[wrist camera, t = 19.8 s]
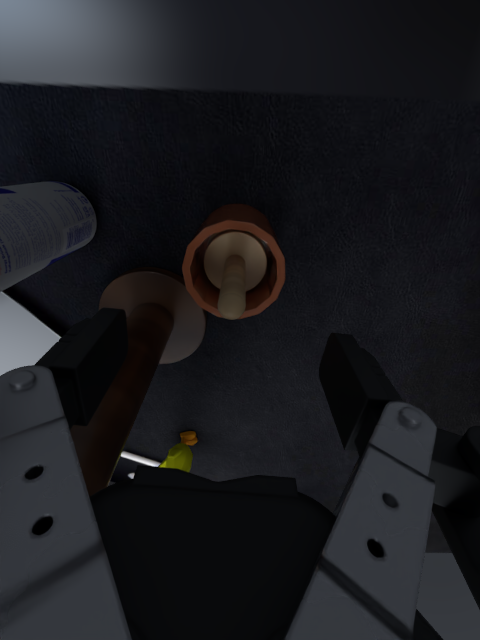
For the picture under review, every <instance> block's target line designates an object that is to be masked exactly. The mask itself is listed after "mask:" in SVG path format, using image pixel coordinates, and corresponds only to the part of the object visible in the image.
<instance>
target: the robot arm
mask: <svg viewBox="0 0 480 640" xmlns="http://www.w3.org/2000/svg"><path fill="white" fill-rule="evenodd" d="M127 353H128V332H127V320H126V312H125V310H123V309H115V308H106V307H103V308H101V309H100V310H99V311H98V312H97V314H96V315H95V316H94V317H93V318H92V319H85V320H83V321H81V322H79V323H77V324H75V325H73V326H72V327H71V328H70V329H69V330H68V331H67V332H66V335H63V337H62V338H61V339H60V340H59V342H57V343H56V344H55V345H54V346H53V347H52V348H51V349H50V350H49V351H48V352H47V353H46V354H45V355H44V356H43V357H42V358H41V359H40V360H39V361H38V362H37V363H36V364H35V365H34V366H24V367H20V368H17V369H14V370H11V371H9V372H7V373H5V374H3V375H1V376H0V640H443V639H442V638H441V636H440V635H439V634H438V633H437V632H436V631H435V630H434V628H433V627H432V626H431V625H430V624H429V623H428V621H427V620H426V619H425V618H424V617H423V616H422V615H421V613H420V612H419V611H418V610H417V609H416V605H417V599H418V593H419V587H420V581H421V574H422V567H423V561H424V555H425V549H426V543H427V536H428V530H429V524H430V517H431V511H432V512H433V514H434V516H435V518H436V520H437V522H438V524H439V526H440V528H441V530H442V532H443V535H444V537H445V539H446V541H447V543H448V545H449V547H450V549H451V551H452V553H453V555H454V557H455V559H456V562H457V564H458V566H459V568H460V570H461V572H462V574H463V576H464V578H465V580H466V582H467V584H468V587H469V589H470V591H471V593H472V595H473V597H474V599H475V601H476V603H477V605H478V607H479V609H480V426H474V427H470V428H469V429H468V430H467V432H466V433H465V434H464V436H460V435H457V434H454V433H451V432H448V431H445V430H442V429H439V428H436V425H435V423H434V422H433V420H432V419H431V418H430V417H429V416H428V415H427V414H426V413H425V412H424V411H422V410H421V409H419V408H418V407H416V406H414V405H412V404H409V403H407V402H403V400H402V399H401V397H400V396H399V394H398V393H397V391H396V390H395V388H394V387H393V385H392V384H391V382H390V381H389V379H388V377H387V376H385V373H384V371H383V370H382V368H380V365H379V364H378V362H377V361H376V359H375V358H374V357H373V356H372V355H371V354H370V353H369V352H367V351H366V350H365V349H363V348H360V347H359V345H358V344H357V342H356V340H355V339H354V337H353V336H352V335H348V334H339V333H331V334H330V336H329V338H328V341H327V344H326V347H325V351H324V354H323V357H322V360H321V363H320V367H319V377H320V381H321V384H322V387H323V390H324V393H325V395H326V398H327V401H328V404H329V407H330V410H331V413H332V416H333V419H334V422H335V424H336V427H337V430H338V433H339V436H340V439H341V442H342V445H343V448H344V450H354V451H358V454H359V458H358V460H357V462H356V464H355V466H354V469H353V471H352V473H351V475H350V477H349V480H348V482H347V484H346V486H345V488H344V490H343V493H342V495H341V497H340V499H339V501H338V503H337V505H336V508H335V510H334V512H333V513H332V512H330V511H329V510H328V509H327V508H326V507H324V506H323V505H322V504H320V503H319V502H317V501H316V500H314V499H313V498H311V497H309V496H307V495H305V494H303V493H300V492H297V486H296V479H295V478H288V477H276V476H263V475H255V476H249V477H244V478H238V479H233V480H227V481H222V482H215V481H211V480H209V479H206V478H203V477H200V476H197V475H194V474H191V473H189V472H186V471H183V470H180V469H177V468H164V467H152V466H140V465H138V466H137V469H136V472H135V475H134V478H133V479H129V480H125V481H121V482H118V483H115V484H113V485H110V486H108V487H106V488H104V489H102V490H100V491H98V492H96V493H95V494H93V495H92V496H90V497H89V494H88V491H87V488H86V484H85V481H84V477H83V474H82V471H81V467H80V464H79V460H78V457H77V453H76V450H75V447H74V443H73V440H72V436H71V433H70V430H71V428H72V426H73V425H78V426H87V425H88V424H89V422H90V420H91V418H92V417H93V415H94V413H95V411H96V410H97V408H98V406H99V404H100V403H101V401H102V399H103V397H104V396H105V394H106V392H107V390H108V389H109V387H110V385H111V383H112V382H113V380H114V378H115V376H116V375H117V373H118V371H119V369H120V368H121V366H122V364H123V362H124V361H125V359H126V356H127Z"/></svg>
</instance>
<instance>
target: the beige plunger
mask: <svg viewBox="0 0 480 640" xmlns="http://www.w3.org/2000/svg"><path fill="white" fill-rule="evenodd" d="M266 268H267V258H266V247H265V242H264V241H263V240H261V239H260V238H258V237H257V236H255V235H254V234H252V233H251V232H248V231H241V230H233V229H227V230H224V231H221V232H218V233H215V234H213V235H211V236H210V239H209V241H208V244H207V249H206V251H205V255H204V269H205V273H206V275H207V277H208V279H209V280H210V281H211V282H212V283H213V285H215V286H216V287H217V288H219V289H220V294H219V299H218V311H219V313H220V314H221V315H222V316H223V317H224V318H226V319H230V320H233V319H237V318H239V317H240V316H241V315H242V314H243V313H244V311H245V307H246V291H248V290H251V289H252V288H254V287H255V286H256V285H258V284H259V283H260V281H261V280H262V278H263V277H264V275H265V272H266Z"/></svg>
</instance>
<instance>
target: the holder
mask: <svg viewBox="0 0 480 640" xmlns="http://www.w3.org/2000/svg"><path fill="white" fill-rule="evenodd" d="M227 229H233V230H241V231H248V232H251V233H252V234H254V235H255V236H257V237H258V238H260V239H261V240H263V241H264V242H265V247H266V258H267V268H266V272H265V275H264V277H263V278H262V280H261V281H260V283H259V284H258V285H256V286H255V287H254V288H252V289H251V290H248V291H246V307H245V311H244V313H243V314H242V315H241V316H240V317H239V318H237V319H242V318H246V317H249V316H253V315H256V314H259V313H261V312H262V311H263V310H264V309H266V308H267V307H268V306H269V305H270V304H272V303H273V302H274V301H275V300H276V299H277V297H278V295H279V293H280V291H281V288H282V286H283V284H284V282H285V258H284V255H283V252H282V250H281V247H280V245H279V242H278V240H277V237H276V235H275V232H274V230H273V229H272V227H271V225H270V223H269V221H268V219H267V218H266V216H265V215H263V214H262V213H261V212H260V211H258V210H257V209H255V208H253V207H252V206H249V205H245V204H238V203H235V204H228V205H224V206H222V207H220V208H218V209H215V210H214V211H213V212H212V213H211V214H210V215H209V216H208V217H207V219H206V220H205V221H204V222H203V223H202V225H201V226H200V228H199V229H198V231H197V232H196V234H195V235H194V237H193V238H192V240H191V242H190V243H189V245H188V246H187V250H186V254H185V257H184V261H183V265H182V271H183V276H184V281H185V286H186V289H187V291H188V292H189V294H190V295H191V296H192V297H193V299H194V300H195V301H196V303H197V304H198V305H199V306H200V307H201V308H203V309H205V310H207V311H208V312H210V313H212V314H214V315H216V316H217V317H223V316H222V315H221V314H220V313H219V311H218V299H219V294H220V289H219V288H217V287H216V286H215V285H213V283H212V282H211V281H210V280H209V279H208V277H207V275H206V273H205V269H204V255H205V251H206V249H207V244H208V241H209V239H210V236H211V235H213V234H215V233H218V232H221V231H224V230H227ZM223 318H224V317H223Z"/></svg>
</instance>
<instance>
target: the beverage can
mask: <svg viewBox="0 0 480 640" xmlns="http://www.w3.org/2000/svg"><path fill="white" fill-rule="evenodd" d="M96 226H97V221H96V215H95V212H94V209H93V207H92V205H91V203H90V202H89V200H88V199H87V198H86V197H85V196H84V195H83V194H82V193H81V192H80V191H79V190H78V189H76V188H74V187H73V186H71V185H69V184H66V183H63V182H58V181H46V182H38V183H29V184H21V185H13V186H4V187H0V292H1V291H3V290H5V289H7V288H8V287H10V286H12V285H14V284H16V283H17V282H19V281H21V280H23V279H25V278H27V277H28V276H30V275H32V274H34V273H36V272H37V271H39V270H41V269H43V268H45V267H47V266H48V265H50V264H52V263H54V262H56V261H57V260H59V259H61V258H63V257H65V256H67V255H68V254H70V253H72V252H74V251H76V250H78V249H79V248H81V247H83V246H85V245H86V244H87V243H89V242H90V241H91V240H92V238H93V237H94V235H95V232H96Z"/></svg>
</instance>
